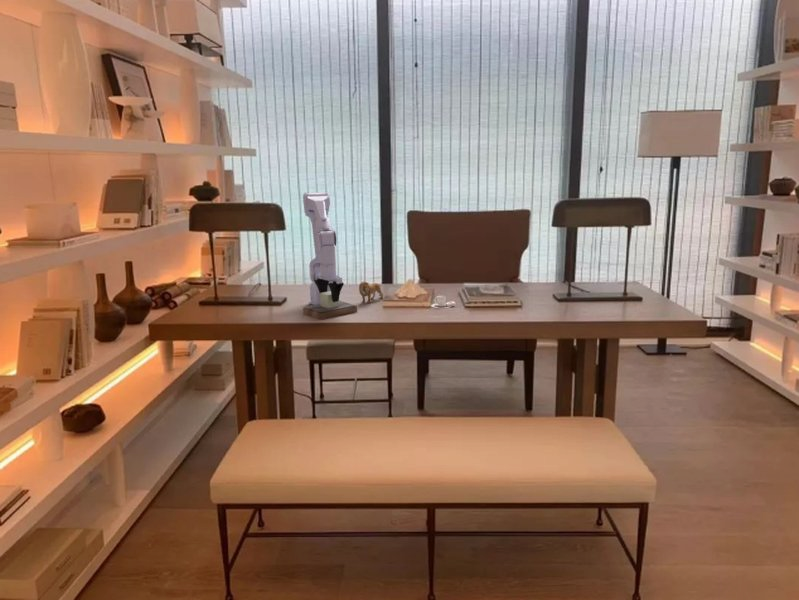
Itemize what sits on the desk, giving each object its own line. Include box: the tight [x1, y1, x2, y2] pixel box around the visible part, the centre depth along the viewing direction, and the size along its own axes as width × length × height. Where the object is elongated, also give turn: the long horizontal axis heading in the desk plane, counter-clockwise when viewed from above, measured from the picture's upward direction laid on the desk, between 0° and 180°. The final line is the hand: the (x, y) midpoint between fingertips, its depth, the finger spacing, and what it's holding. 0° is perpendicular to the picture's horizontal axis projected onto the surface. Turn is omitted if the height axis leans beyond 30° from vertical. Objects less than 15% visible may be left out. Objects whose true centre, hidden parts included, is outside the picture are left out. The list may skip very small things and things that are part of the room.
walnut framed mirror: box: [302, 300, 358, 321], centre depth 235 cm, size 12×16×2 cm
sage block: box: [320, 291, 340, 308], centre depth 234 cm, size 5×5×5 cm
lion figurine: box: [358, 281, 384, 304], centre depth 251 cm, size 15×5×9 cm, turn 153°
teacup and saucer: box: [430, 295, 456, 309], centre depth 241 cm, size 9×8×4 cm
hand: (329, 299), depth 234 cm, fingers open, 7 cm apart
